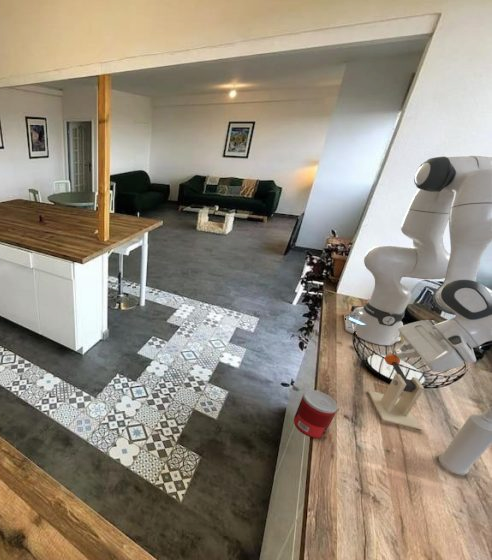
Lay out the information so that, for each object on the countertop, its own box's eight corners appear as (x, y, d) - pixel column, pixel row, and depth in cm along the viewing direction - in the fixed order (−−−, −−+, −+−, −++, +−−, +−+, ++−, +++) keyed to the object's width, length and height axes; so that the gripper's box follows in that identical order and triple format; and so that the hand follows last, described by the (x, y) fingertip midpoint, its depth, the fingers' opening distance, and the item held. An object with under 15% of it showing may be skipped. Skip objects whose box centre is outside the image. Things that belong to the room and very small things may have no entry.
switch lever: (381, 358, 102) (385, 350, 100) (394, 361, 101) (399, 353, 99) (398, 391, 91) (404, 382, 89) (413, 394, 90) (419, 386, 88)
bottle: (471, 479, 77) (533, 407, 66) (446, 475, 78) (504, 403, 67) (454, 459, 81) (510, 389, 70) (431, 456, 82) (483, 386, 71)
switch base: (366, 393, 102) (382, 363, 96) (400, 401, 99) (419, 371, 93) (380, 422, 92) (399, 390, 86) (419, 432, 89) (441, 400, 83)
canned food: (327, 443, 86) (341, 415, 81) (295, 434, 88) (307, 406, 83) (320, 421, 92) (333, 394, 87) (290, 413, 95) (301, 386, 90)
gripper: (427, 311, 99) (377, 329, 107) (466, 348, 82) (404, 367, 89) (438, 325, 100) (388, 343, 107) (480, 365, 82) (417, 383, 90)
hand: (395, 354), depth 98 cm, fingers closed
